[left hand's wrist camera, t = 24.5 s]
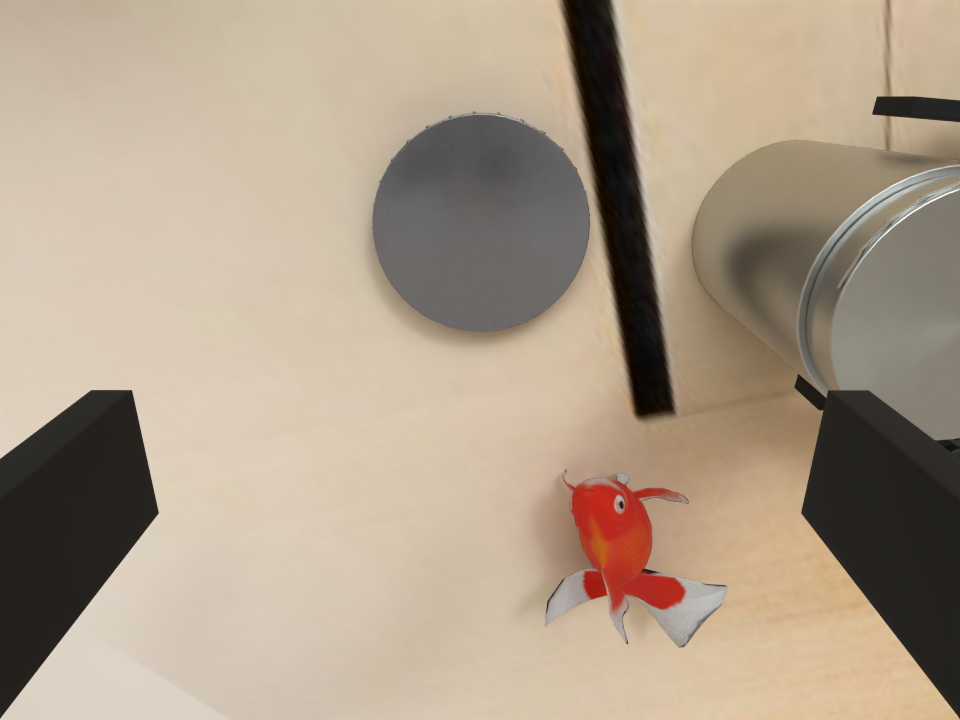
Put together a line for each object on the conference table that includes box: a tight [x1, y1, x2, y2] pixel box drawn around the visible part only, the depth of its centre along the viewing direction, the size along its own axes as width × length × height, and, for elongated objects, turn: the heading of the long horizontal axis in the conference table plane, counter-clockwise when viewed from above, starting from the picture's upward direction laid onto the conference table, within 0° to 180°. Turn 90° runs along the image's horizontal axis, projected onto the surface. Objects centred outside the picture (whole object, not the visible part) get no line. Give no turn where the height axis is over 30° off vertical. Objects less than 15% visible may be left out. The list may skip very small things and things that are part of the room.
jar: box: [692, 140, 960, 440], centre depth 30 cm, size 10×10×15 cm
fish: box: [545, 470, 728, 648], centre depth 40 cm, size 11×16×10 cm
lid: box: [373, 111, 590, 332], centre depth 35 cm, size 12×12×2 cm
